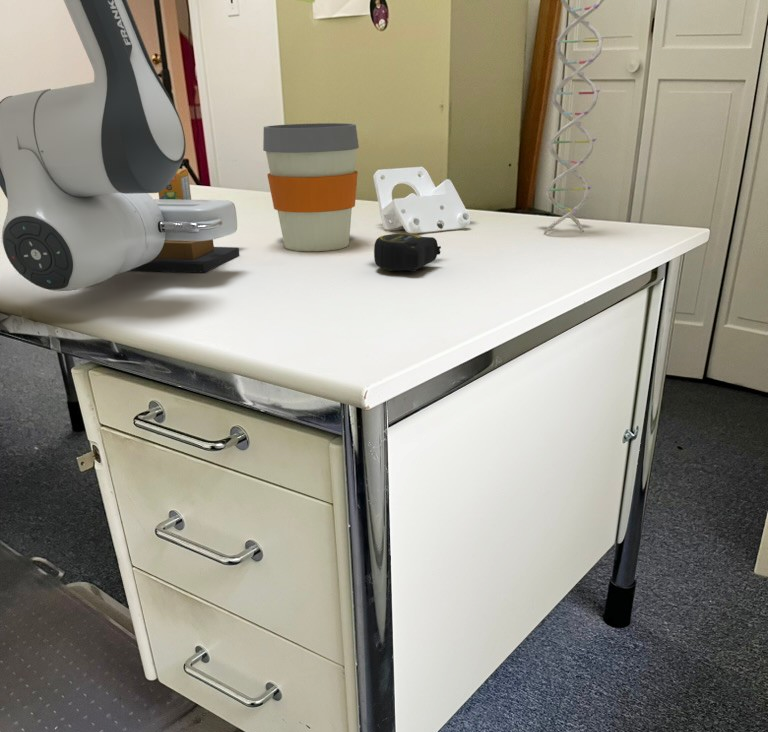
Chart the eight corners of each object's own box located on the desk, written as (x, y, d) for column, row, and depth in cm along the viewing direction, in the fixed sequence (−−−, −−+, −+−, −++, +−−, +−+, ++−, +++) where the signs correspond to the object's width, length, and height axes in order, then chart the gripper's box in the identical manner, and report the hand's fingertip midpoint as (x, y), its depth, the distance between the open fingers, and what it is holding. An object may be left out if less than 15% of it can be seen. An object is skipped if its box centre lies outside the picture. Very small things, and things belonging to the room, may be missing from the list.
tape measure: (416, 278, 92) (416, 244, 90) (364, 273, 95) (363, 240, 93) (440, 266, 97) (441, 234, 96) (390, 262, 100) (389, 231, 98)
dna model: (545, 237, 113) (564, -16, 99) (536, 230, 119) (553, -11, 105) (592, 236, 113) (618, -17, 99) (581, 229, 119) (604, -12, 105)
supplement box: (165, 257, 101) (152, 171, 96) (175, 251, 104) (163, 168, 99) (190, 257, 101) (179, 170, 96) (199, 252, 104) (189, 167, 99)
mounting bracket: (455, 237, 126) (442, 167, 125) (475, 224, 120) (461, 151, 119) (386, 244, 122) (372, 172, 120) (403, 232, 116) (388, 155, 115)
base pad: (122, 270, 99) (117, 245, 98) (163, 253, 109) (160, 230, 107) (204, 272, 97) (201, 247, 96) (239, 255, 106) (237, 231, 105)
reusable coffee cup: (253, 246, 112) (241, 127, 105) (320, 234, 120) (314, 122, 112) (312, 257, 104) (304, 129, 97) (380, 243, 112) (378, 124, 105)
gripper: (205, 197, 85) (254, 182, 97) (36, 195, 90) (102, 181, 101) (212, 258, 88) (259, 236, 100) (48, 253, 93) (111, 233, 104)
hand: (179, 208), depth 101 cm, fingers open, 8 cm apart
